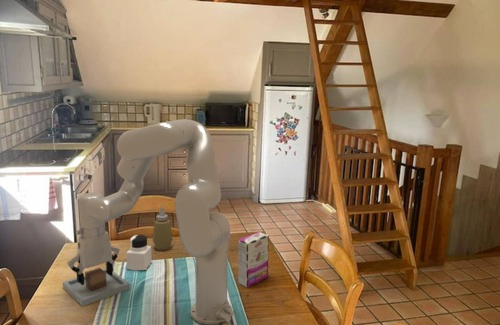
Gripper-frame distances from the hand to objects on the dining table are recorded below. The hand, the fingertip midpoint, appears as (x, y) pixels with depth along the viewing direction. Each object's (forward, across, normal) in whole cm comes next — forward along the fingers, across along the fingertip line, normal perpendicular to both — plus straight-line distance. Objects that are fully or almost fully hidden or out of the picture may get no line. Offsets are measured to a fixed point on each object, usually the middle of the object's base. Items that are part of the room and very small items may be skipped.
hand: (95, 278), depth 133 cm
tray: (+3, 0, 0) cm, 3 cm away
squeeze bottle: (+4, +35, +14) cm, 38 cm away
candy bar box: (+4, +43, -32) cm, 54 cm away
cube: (+3, 0, 0) cm, 3 cm away
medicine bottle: (+4, +19, +5) cm, 20 cm away
